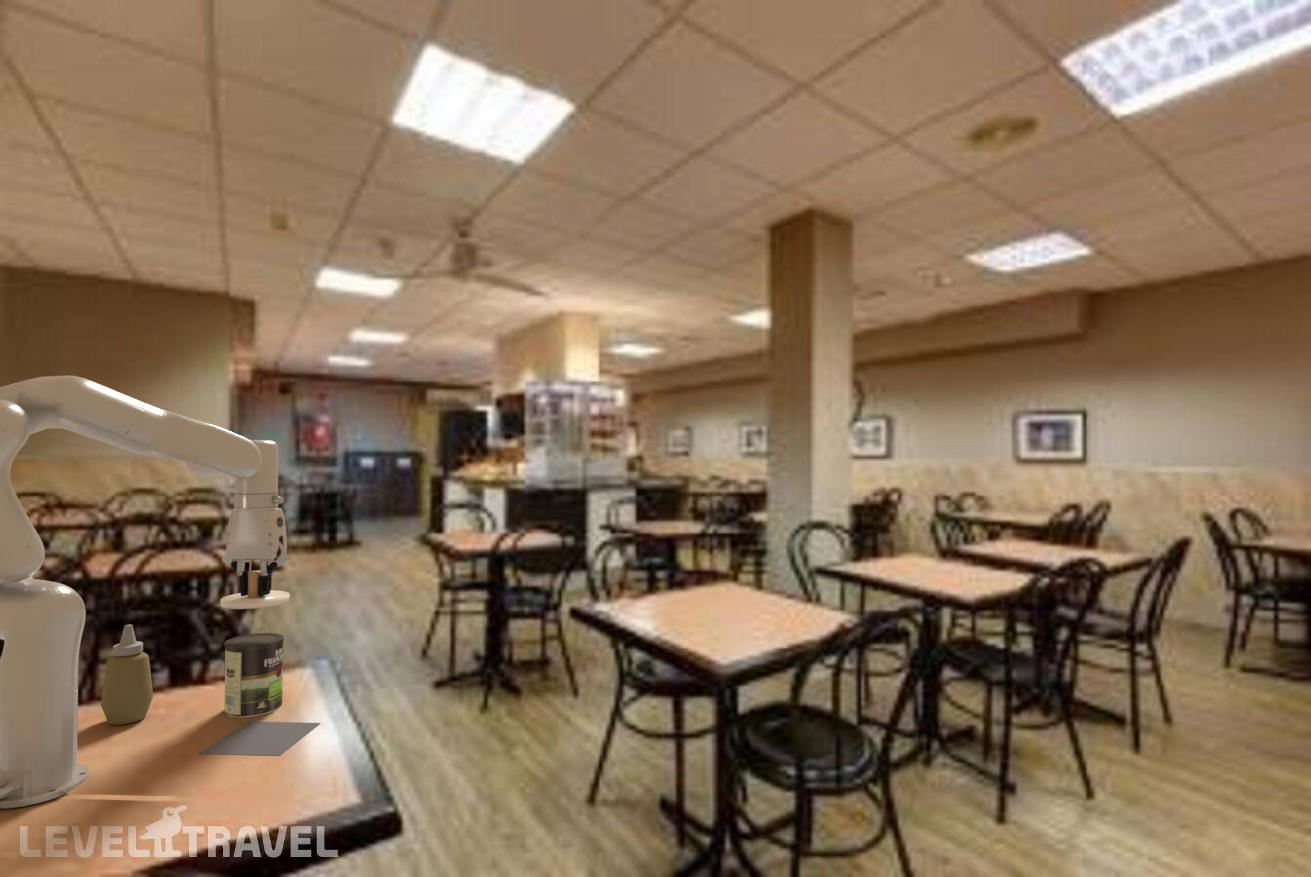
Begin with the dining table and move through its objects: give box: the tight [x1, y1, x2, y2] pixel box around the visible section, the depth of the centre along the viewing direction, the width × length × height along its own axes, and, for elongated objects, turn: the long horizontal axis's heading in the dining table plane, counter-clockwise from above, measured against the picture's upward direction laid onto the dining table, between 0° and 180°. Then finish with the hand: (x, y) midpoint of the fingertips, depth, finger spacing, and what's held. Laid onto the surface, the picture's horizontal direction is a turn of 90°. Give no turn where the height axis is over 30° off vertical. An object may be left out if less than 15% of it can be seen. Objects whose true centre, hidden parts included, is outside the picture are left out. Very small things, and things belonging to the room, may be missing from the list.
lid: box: [219, 569, 291, 610], centre depth 143 cm, size 12×12×6 cm
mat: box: [198, 720, 322, 757], centre depth 128 cm, size 14×14×1 cm
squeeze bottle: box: [100, 624, 154, 726], centre depth 137 cm, size 8×8×18 cm
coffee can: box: [223, 632, 285, 718], centre depth 143 cm, size 10×10×14 cm
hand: (255, 594), depth 143 cm, fingers closed on lid, 2 cm apart
